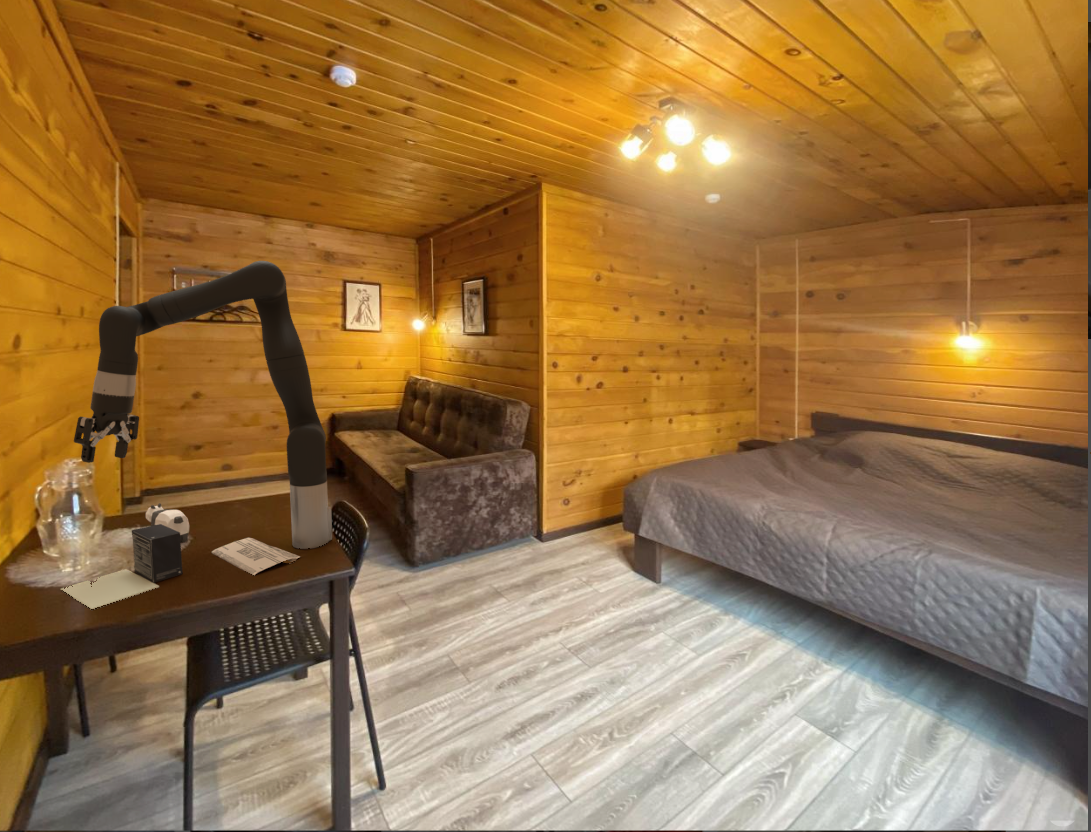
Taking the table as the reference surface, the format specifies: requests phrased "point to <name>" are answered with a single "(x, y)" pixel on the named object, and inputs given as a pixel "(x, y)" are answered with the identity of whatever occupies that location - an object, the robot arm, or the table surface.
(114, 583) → the blank cream paper sheet
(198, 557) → the table surface
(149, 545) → the small box
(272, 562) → the newspaper
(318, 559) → the table surface
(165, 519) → the giant panda
